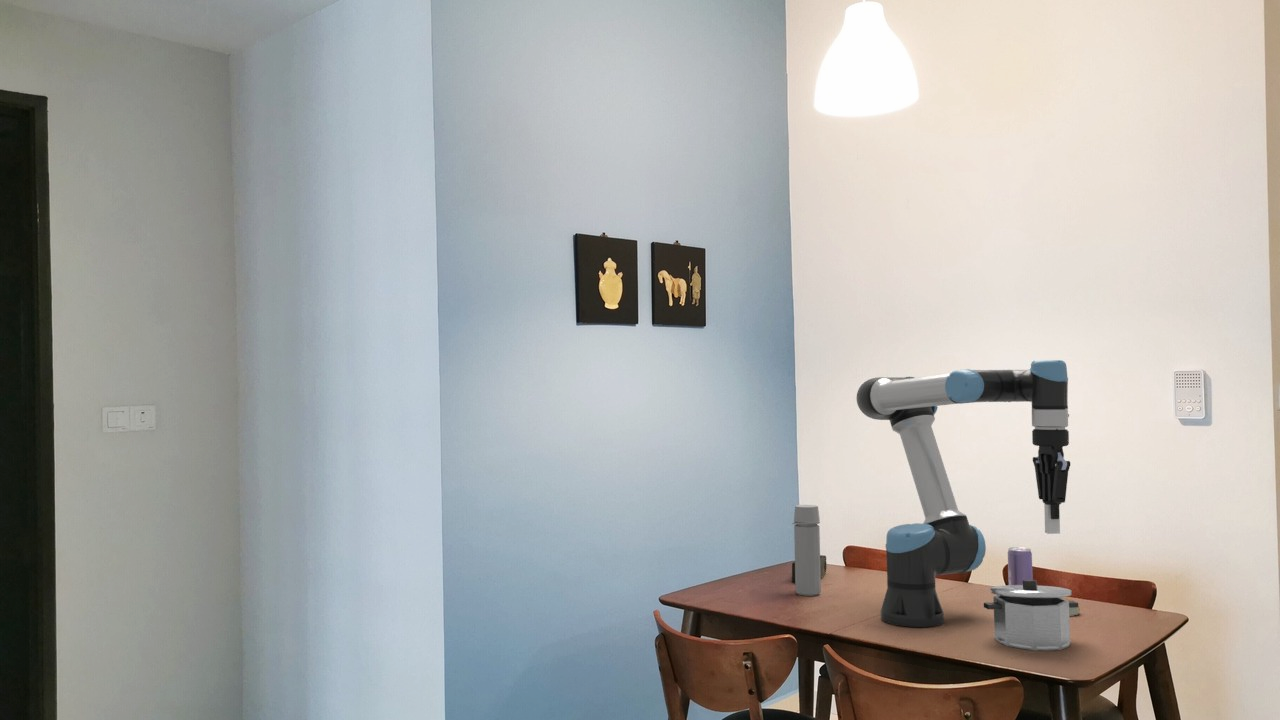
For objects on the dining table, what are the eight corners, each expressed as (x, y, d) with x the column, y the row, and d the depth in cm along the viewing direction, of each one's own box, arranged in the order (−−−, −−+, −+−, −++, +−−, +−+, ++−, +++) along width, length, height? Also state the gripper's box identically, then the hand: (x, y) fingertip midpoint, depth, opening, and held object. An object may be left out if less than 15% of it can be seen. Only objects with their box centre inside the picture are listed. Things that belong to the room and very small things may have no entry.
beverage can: (1035, 608, 238) (1033, 550, 239) (1011, 607, 239) (1009, 550, 240) (1030, 603, 244) (1028, 547, 244) (1007, 602, 245) (1005, 546, 246)
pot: (1002, 652, 198) (1000, 607, 198) (971, 633, 214) (970, 592, 214) (1095, 649, 199) (1093, 605, 199) (1058, 631, 215) (1056, 590, 215)
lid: (1010, 601, 198) (1009, 585, 198) (978, 591, 215) (977, 577, 215) (1086, 599, 198) (1085, 583, 199) (1048, 589, 215) (1047, 575, 216)
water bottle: (827, 595, 257) (825, 506, 259) (803, 597, 254) (801, 508, 256) (809, 589, 266) (807, 503, 267) (786, 591, 263) (784, 504, 264)
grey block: (1061, 608, 239) (1060, 593, 239) (1085, 616, 230) (1084, 600, 230) (1034, 610, 237) (1033, 595, 237) (1057, 618, 228) (1056, 602, 228)
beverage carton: (827, 573, 290) (827, 553, 291) (817, 585, 272) (817, 563, 273) (802, 572, 293) (802, 551, 293) (791, 584, 275) (790, 562, 275)
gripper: (1081, 429, 199) (1083, 537, 198) (1052, 426, 212) (1054, 528, 211) (1047, 429, 198) (1050, 538, 198) (1020, 427, 211) (1022, 528, 211)
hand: (1052, 533), depth 204 cm, fingers closed
